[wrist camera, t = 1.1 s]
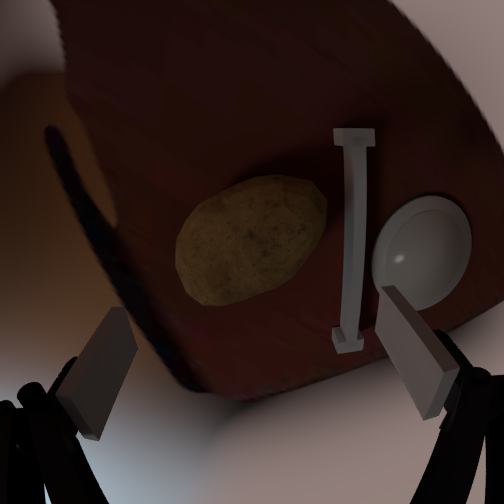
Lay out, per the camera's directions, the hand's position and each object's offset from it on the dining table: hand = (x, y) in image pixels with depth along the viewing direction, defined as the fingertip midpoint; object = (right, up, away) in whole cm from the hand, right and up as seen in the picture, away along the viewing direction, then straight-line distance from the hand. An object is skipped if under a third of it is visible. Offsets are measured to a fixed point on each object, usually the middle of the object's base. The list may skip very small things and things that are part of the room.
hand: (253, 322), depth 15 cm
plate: (+20, +3, +17) cm, 26 cm away
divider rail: (+10, +4, +16) cm, 19 cm away
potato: (0, +6, +15) cm, 17 cm away
